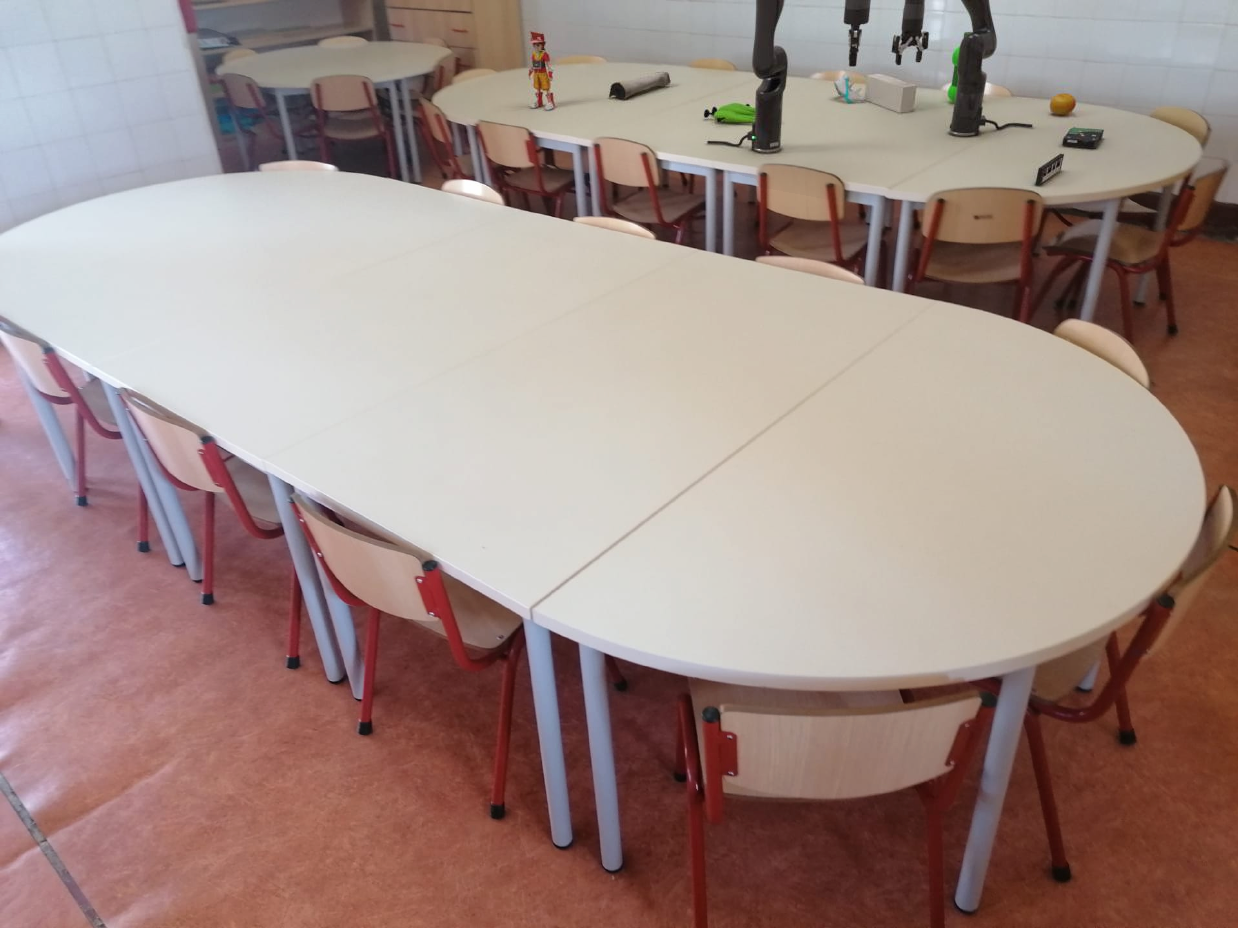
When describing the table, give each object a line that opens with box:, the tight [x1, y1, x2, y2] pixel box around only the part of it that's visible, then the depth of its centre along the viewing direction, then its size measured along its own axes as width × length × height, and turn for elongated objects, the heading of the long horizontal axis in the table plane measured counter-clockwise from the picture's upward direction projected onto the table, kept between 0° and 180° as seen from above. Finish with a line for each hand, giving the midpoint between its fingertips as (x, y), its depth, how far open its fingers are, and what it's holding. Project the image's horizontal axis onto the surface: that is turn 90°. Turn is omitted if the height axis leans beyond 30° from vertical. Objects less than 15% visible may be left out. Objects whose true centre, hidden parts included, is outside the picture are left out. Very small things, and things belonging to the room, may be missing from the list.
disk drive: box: [1062, 127, 1105, 149], centre depth 302 cm, size 10×3×15 cm
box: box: [864, 73, 918, 114], centre depth 354 cm, size 25×6×9 cm, turn 19°
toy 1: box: [527, 31, 556, 111], centre depth 374 cm, size 12×9×30 cm
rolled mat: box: [608, 71, 672, 101], centre depth 395 cm, size 30×9×10 cm
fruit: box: [1049, 93, 1077, 116], centre depth 330 cm, size 8×8×8 cm
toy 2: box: [703, 102, 755, 124], centre depth 348 cm, size 28×5×30 cm
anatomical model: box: [833, 74, 866, 104], centre depth 365 cm, size 15×10×10 cm
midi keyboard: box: [1035, 153, 1065, 186], centre depth 273 cm, size 18×1×5 cm, turn 138°
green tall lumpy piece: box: [947, 31, 973, 104], centre depth 347 cm, size 10×10×25 cm
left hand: (852, 63), depth 281 cm, fingers open, 8 cm apart
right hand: (908, 63), depth 340 cm, fingers open, 8 cm apart
